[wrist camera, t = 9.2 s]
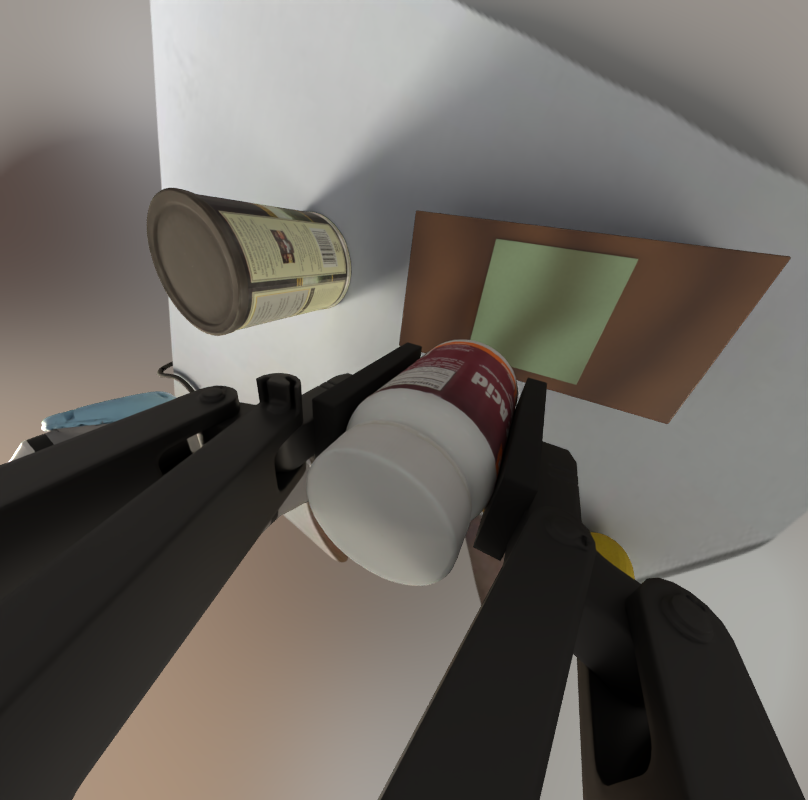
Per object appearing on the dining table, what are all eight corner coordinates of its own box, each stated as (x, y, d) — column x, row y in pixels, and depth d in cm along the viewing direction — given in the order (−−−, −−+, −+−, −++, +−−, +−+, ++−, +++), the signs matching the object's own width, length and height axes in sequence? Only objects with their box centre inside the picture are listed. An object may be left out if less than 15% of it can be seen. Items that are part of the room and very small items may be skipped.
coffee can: (270, 263, 36) (139, 267, 25) (305, 187, 30) (153, 147, 19) (323, 327, 37) (219, 359, 25) (368, 265, 30) (257, 272, 19)
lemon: (602, 509, 31) (614, 578, 24) (637, 546, 31) (659, 624, 24) (556, 525, 34) (556, 588, 27) (588, 558, 34) (596, 629, 27)
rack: (427, 329, 31) (397, 346, 25) (446, 220, 26) (414, 209, 20) (641, 385, 24) (669, 426, 19) (723, 256, 19) (795, 256, 13)
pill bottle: (527, 429, 13) (497, 623, 6) (431, 433, 15) (334, 575, 8) (509, 324, 11) (441, 430, 5) (406, 347, 14) (263, 439, 7)
